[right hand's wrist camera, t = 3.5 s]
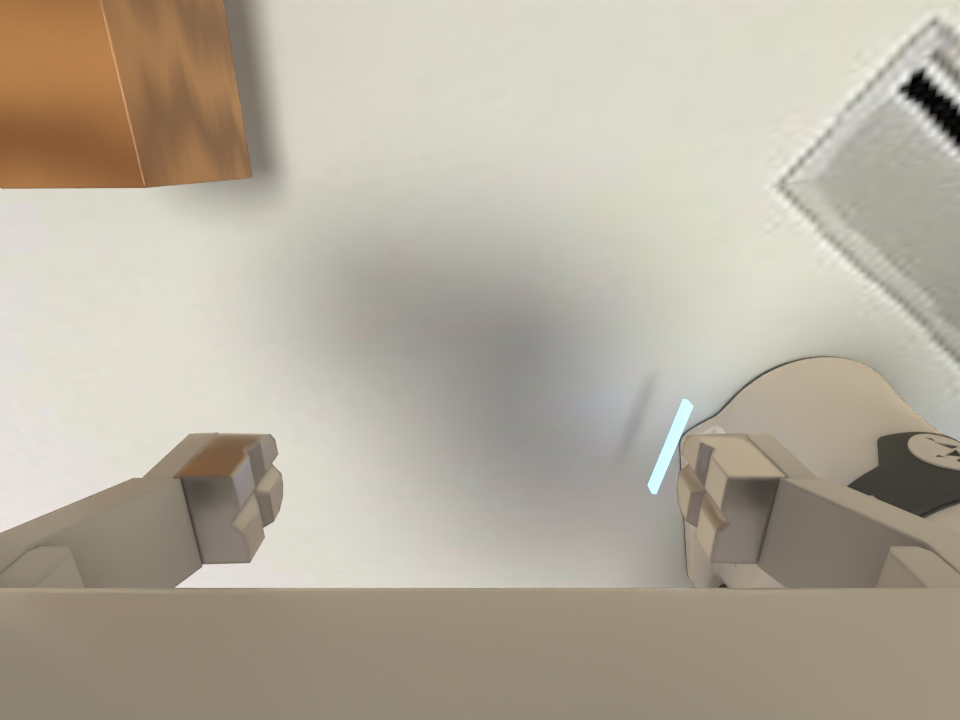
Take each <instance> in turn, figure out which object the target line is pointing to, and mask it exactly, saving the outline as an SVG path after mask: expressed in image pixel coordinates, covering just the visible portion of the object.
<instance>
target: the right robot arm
mask: <svg viewBox="0 0 960 720" xmlns="http://www.w3.org/2000/svg"><path fill="white" fill-rule="evenodd" d="M692 408H693V406H692V404H691V403H690V402H689V401H688V400H686V399H683V401H682V403H681V406H680V408H679V410H678V413H677V415H676V418H675V420H674V423H673V425H672V427H671V430H670V432H669V435H668V437H667V440H666V442H665V444H664V447H663V449H662V452H661V454H660V457H659V459H658V461H657V464H656V466H655V469H654V471H653V474H652V476H651V478H650V481H649V483H648V487H649V489H650V491H651V493H653V494H656V493H657V491H658V488H659V486H660V484H661V481H662V479H663V477H664V474H665V472H666V469H667V467H668V465H669V462H670V460H671V458H672V455H673V453H674V451H675V448H676V446H677V443H678V441H679V439H680V436H681V434H682V432H683V429H684V427H685V425H686V422H687V420H688V417H689V415H690V413H691V410H692ZM277 455H278V451H277V446H276V441H275V439H274V438H273V436H272V435H271V434H237V433H220V434H219V433H194V434H189V435H188V436H187V437H186V438H185V439H184V440H183V441H181V442H180V443H179V444H178V445H177V446H176V447H175V448H174V449H173V450H172V451H171V452H170V453H169V454H167V455H166V456H165V457H164V458H163V459H162V460H161V461H160V462H159V463H158V464H157V465H156V466H154V467H153V468H152V469H151V470H150V471H149V472H148V473H147V474H146V475H145V476H144V477H143V478H133V479H130V480H128V481H125V482H123V483H120V484H118V485H116V486H113V487H111V488H108V489H106V490H104V491H101V492H99V493H96V494H94V495H91V496H89V497H87V498H84V499H82V500H79V501H77V502H74V503H72V504H70V505H67V506H65V507H62V508H60V509H58V510H55V511H53V512H50V513H48V514H45V515H43V516H41V517H38V518H36V519H33V520H31V521H28V522H26V523H24V524H21V525H19V526H16V527H14V528H12V529H9V530H7V531H4V532H2V533H0V720H960V442H959V441H957V440H955V439H953V438H951V437H949V436H946V435H944V434H942V433H941V432H940V431H938V430H937V429H936V428H934V427H933V426H932V425H931V424H929V423H928V422H927V421H926V420H924V419H923V418H922V417H921V416H920V415H918V414H917V413H916V412H915V411H914V410H913V409H912V408H910V407H909V406H908V405H907V404H906V403H905V402H904V401H903V400H902V399H901V398H900V397H899V395H898V394H897V393H896V392H895V391H894V390H893V388H892V387H891V386H890V385H889V383H888V382H887V381H886V380H885V379H884V378H883V377H882V376H881V375H880V374H879V373H878V372H876V371H875V370H873V369H872V368H870V367H868V366H866V365H864V364H862V363H859V362H856V361H853V360H849V359H844V358H836V357H818V358H809V359H804V360H799V361H795V362H792V363H789V364H786V365H783V366H781V367H778V368H776V369H774V370H772V371H770V372H768V373H766V374H764V375H762V376H761V377H759V378H758V379H756V380H755V381H753V382H752V383H750V384H749V385H748V386H747V387H745V388H744V389H743V390H742V391H741V392H740V393H739V394H738V395H736V397H735V398H734V399H733V400H732V401H731V402H730V403H729V404H728V405H727V406H726V407H725V408H724V409H723V410H722V411H721V412H720V413H719V414H717V415H716V416H715V417H713V418H711V419H709V420H707V421H705V422H703V423H701V424H699V425H697V426H696V427H694V428H692V429H691V430H689V431H688V432H687V433H686V434H685V435H684V436H683V437H682V439H681V442H680V455H681V472H680V473H679V474H678V482H677V497H678V504H679V507H680V510H681V513H682V515H683V517H684V524H685V541H686V558H687V572H688V577H689V578H690V580H691V581H692V583H693V584H694V585H695V586H696V587H697V588H175V587H176V586H177V585H179V584H180V583H181V582H183V581H184V580H185V579H187V578H188V577H189V576H190V575H192V574H193V573H194V572H196V571H197V570H198V569H200V568H201V567H202V564H230V563H250V562H251V560H252V558H253V557H254V555H255V553H256V552H257V550H258V548H259V546H260V545H261V543H262V541H263V539H264V538H265V536H264V530H263V528H264V527H265V526H267V525H269V524H270V523H272V522H273V521H274V520H275V518H276V516H277V515H278V513H279V511H280V507H281V503H282V498H283V481H282V474H281V473H280V472H279V471H278V469H277V468H276V467H275V466H274V465H273V464H272V463H273V461H274V460H275V458H276V457H277Z"/></svg>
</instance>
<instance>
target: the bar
mask: <svg viewBox="0 0 960 720" xmlns="http://www.w3.org/2000/svg"><path fill="white" fill-rule="evenodd" d="M246 178H252V172H251V166H250V160H249V154H248V147H247V141H246V135H245V129H244V123H243V117H242V111H241V104H240V98H239V92H238V86H237V80H236V74H235V68H234V61H233V55H232V49H231V43H230V37H229V31H228V25H227V19H226V12H225V6H224V0H0V188H2V189H32V188H150V187H161V186H171V185H182V184H193V183H203V182H214V181H225V180H235V179H246Z"/></svg>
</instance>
